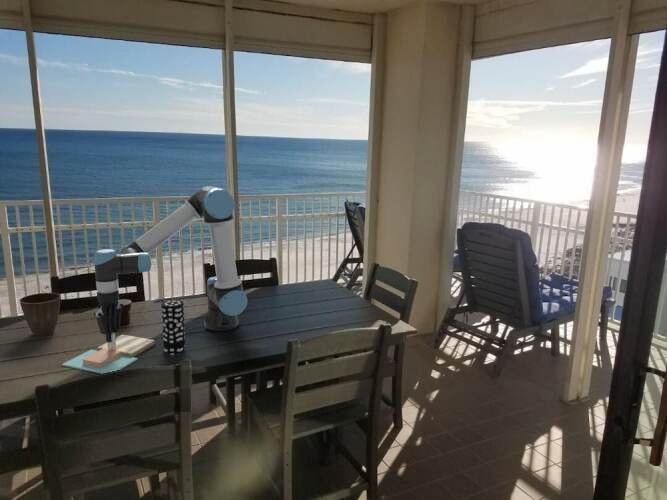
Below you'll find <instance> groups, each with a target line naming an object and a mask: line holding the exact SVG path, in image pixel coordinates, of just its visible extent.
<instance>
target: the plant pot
mask: <svg viewBox="0 0 667 500" xmlns="http://www.w3.org/2000/svg"><path fill="white" fill-rule="evenodd" d="M61 297H62V296H61V294H60V293H57V292H42V293H41V292H40V293H33V294H28V295H26V296H23V297H21V298H20V299H19V304H20V309H21V311H22V314H23V317H24V319H25V322H26V323H27V325H28V327H29V329H30V331H31V332H32V334H33V335H34V336H35V337H46V336H50V335H53V334H54V333H55V329H56V327H57V323H58V320H59V315H60V308H61Z"/></svg>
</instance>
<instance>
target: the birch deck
mask: <svg viewBox="0 0 667 500" xmlns="http://www.w3.org/2000/svg"><path fill="white" fill-rule="evenodd" d="M155 340H156V339H152V338H151V339H149V338H145V337H138V336H133V335H126V334H121V335H119V336H116V349H115V350H119V351H122V355H124V356H129V357H134V358H135V357H136V356H138V355H139V354H141V353H144V352H145V351H146V350H148V349H149V348H151V347H154V346H155V345H156V343H155ZM96 348H97V349H96V350H97V351H100V350H102V349H104V348H108V346H107V342H105V343H103V344H101V345H99V346H96Z"/></svg>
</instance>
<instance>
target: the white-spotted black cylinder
mask: <svg viewBox="0 0 667 500" xmlns="http://www.w3.org/2000/svg"><path fill="white" fill-rule="evenodd" d="M184 305H185V304H184V301H183V300H180V299H169V300H164V301H162V302H161V305H160V306H161V322H162V323H161V325H162V327H161V328H162V345H163V353H164V354H166V355H169V356H174V355H176V356H177V355H181V354H183V353H185V351H186V331H185V330H186V329H185V327H186V325H185V306H184Z"/></svg>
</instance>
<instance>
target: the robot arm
mask: <svg viewBox="0 0 667 500" xmlns="http://www.w3.org/2000/svg"><path fill="white" fill-rule="evenodd" d="M235 208H236V207H235V200H234V197H233V196H232V194H231V193H230V192H228V190H226V189H225V188H222V187H217V186H215V185H206V186H203V187H201V188H200V189H198V190H197V191H196V192H194V193H193V194H192V195H191V196H189V197H188V198H187V199H185V200H184V204H183V205H181V206H180V207H178V208H177V209H176V210H174V211H173V212H172V213H171V214H169V215H168V216H166V217H165V218H163V220H161V221H160V222H158V223H157V224H156V225H154V226H153V227H151V229H149V230H147V231H146V232H145V233H144V234H142V235H141V236H139V237H137V239H135V240H134V241H132V242H130V244H126V245H124V246H122V247H121V248H120V250H119V253H118V254H117V251H116V249H111V248H105V249H98V250H96V251H95V252H94V254H93V258H94V260H93V261H94V262H93V263H94V275H95V283H96V284H95V286H96V291H97V292H96V299H97V300H96V301H97V302H98V310H97V311H95V312H94V313H93V315H94V318H96V322H97V325H98V328H99V331H100V332H99V333H100V334H101V335H105V343H107V346H108V349H110V350H115V349H116V338H117V333H118V332H119V330H120V328H121V326H120V323H121V314H122V308H123V304H120V303H119V302H118V300H120V294H119V293H120V291H119V275H125V274H138V273H142V274H143V273H146V272H149V271H151V270H152V260H151V259H152V258H151V255H150V254H151V253H152V252H153V251H155V250H156V249H157V248H158V247H160V246H161V245H163V244H164V243H165V242H166V241H168V240H169V239H170V238H172V237H173V236H175V235H176V234H177V233H179V232H180V231H181V230H183V229H184V228H186V227H187V226H188V225H189V224H191V223H192V222H194V220H196V219H198V220H199V219H201V218H203V221H204V223H205V224H206V225H207V226H208V228H209V236H210V242H211V248H212V256H213V262H214V268H215V276H212V277H211V276H210V277H209V278H208V279H207V280H206V281H207V283H206V289H207V313H206V316H205V319H204V325H203V326H204V328H205V329H207V330H209V331H213V332H225V331H231V330H233V329H235V328H237V327H238V326H239V318H238V315H239V314H241V313H242V312H244V310H245V309H246V308H247V305H248V298H247V294H246V293H245V292H244V288H243V281H242V279H240V278H238V270H237V264H236V256H235V249H234V242H233V234H232V229H231V223H232V222H233V220H234V214H233V213H234V210H235Z"/></svg>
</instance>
